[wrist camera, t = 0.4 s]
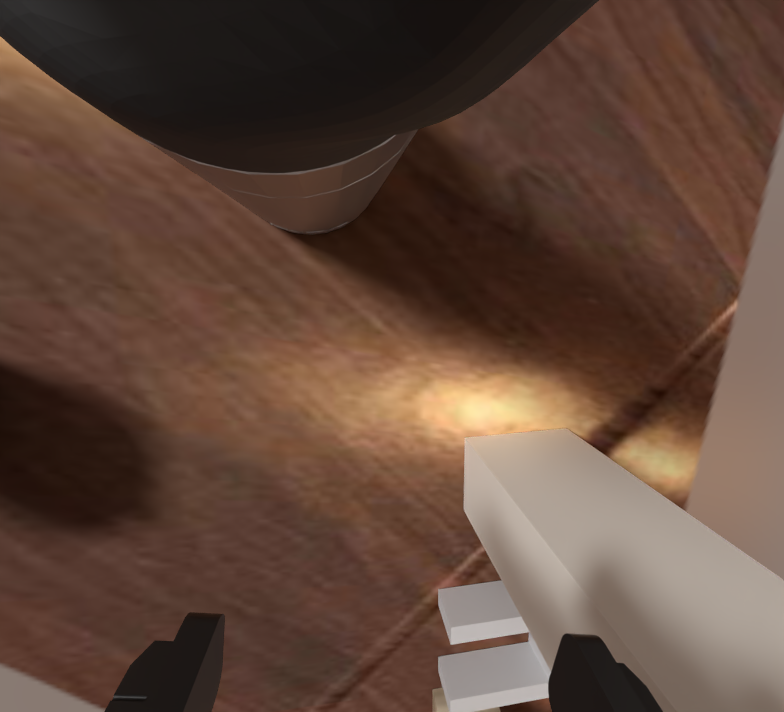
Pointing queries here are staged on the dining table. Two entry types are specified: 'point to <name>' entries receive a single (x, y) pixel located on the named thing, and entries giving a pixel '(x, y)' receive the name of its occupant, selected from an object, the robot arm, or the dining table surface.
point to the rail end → (441, 705)
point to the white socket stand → (605, 584)
